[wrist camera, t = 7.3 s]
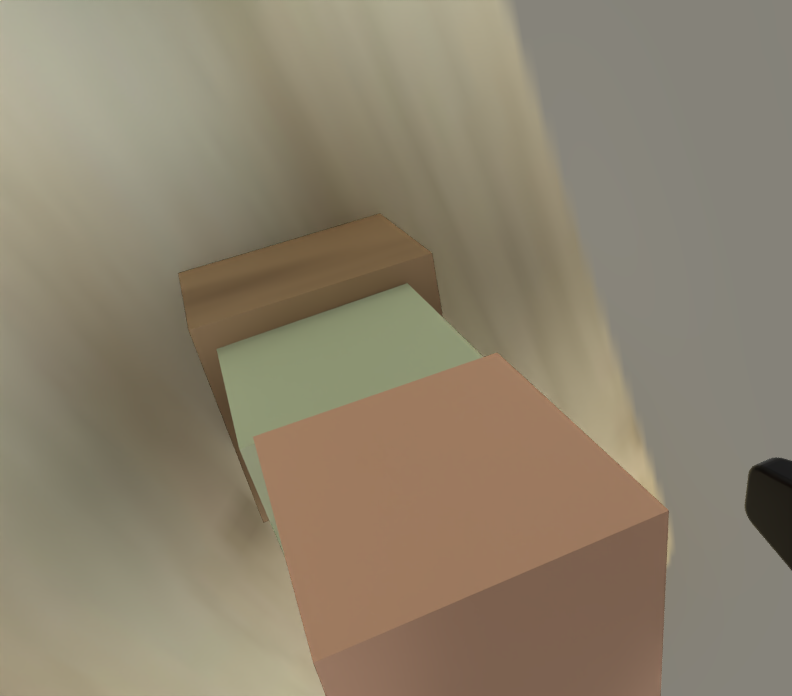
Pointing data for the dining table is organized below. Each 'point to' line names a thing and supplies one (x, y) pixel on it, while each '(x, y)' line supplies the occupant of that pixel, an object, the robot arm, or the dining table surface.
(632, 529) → the terracotta block
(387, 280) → the walnut block
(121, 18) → the dining table surface
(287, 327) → the sage block
